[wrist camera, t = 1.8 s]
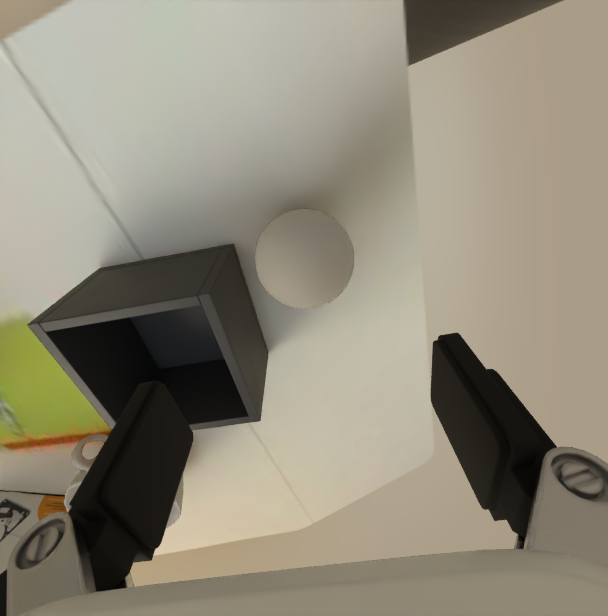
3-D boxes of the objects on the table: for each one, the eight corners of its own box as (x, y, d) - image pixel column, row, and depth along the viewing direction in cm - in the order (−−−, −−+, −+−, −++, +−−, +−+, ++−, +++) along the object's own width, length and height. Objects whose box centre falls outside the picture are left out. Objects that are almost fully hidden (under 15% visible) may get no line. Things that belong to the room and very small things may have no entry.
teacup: (216, 459, 44) (201, 523, 37) (144, 481, 46) (118, 544, 40) (144, 391, 36) (109, 455, 30) (64, 422, 39) (15, 487, 32)
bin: (233, 243, 27) (209, 293, 20) (268, 352, 34) (260, 421, 26) (98, 268, 28) (26, 324, 21) (158, 370, 35) (120, 440, 27)
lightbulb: (351, 232, 27) (381, 296, 17) (292, 268, 28) (290, 344, 19) (314, 167, 24) (325, 202, 15) (251, 211, 26) (225, 267, 16)
